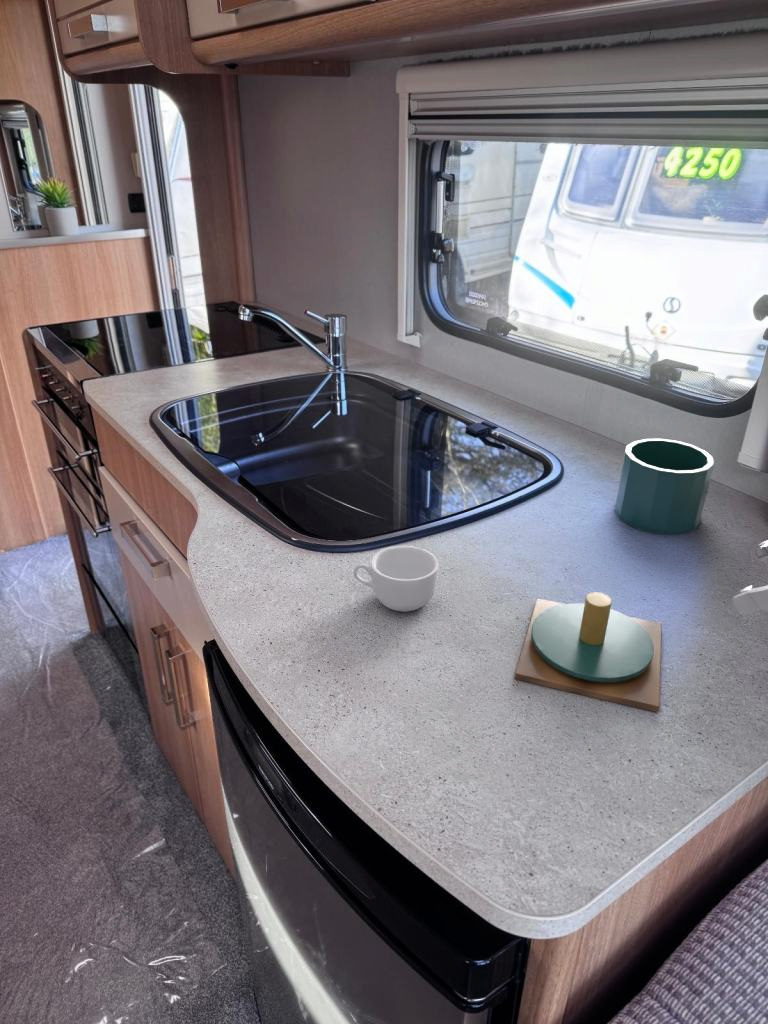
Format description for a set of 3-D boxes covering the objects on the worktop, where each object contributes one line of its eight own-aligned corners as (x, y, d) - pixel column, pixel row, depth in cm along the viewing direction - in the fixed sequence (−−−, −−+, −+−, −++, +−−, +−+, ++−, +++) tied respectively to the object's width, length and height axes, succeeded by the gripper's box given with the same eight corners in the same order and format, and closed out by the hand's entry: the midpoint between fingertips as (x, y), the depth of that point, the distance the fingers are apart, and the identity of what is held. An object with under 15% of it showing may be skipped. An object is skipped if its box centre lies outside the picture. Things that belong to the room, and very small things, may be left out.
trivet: (660, 628, 82) (661, 622, 81) (658, 712, 70) (659, 706, 70) (536, 603, 86) (536, 597, 85) (514, 679, 74) (515, 673, 74)
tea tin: (697, 503, 108) (712, 445, 104) (700, 540, 99) (715, 478, 94) (617, 491, 112) (627, 434, 107) (612, 526, 102) (623, 465, 97)
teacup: (440, 586, 89) (442, 549, 86) (431, 624, 82) (433, 585, 79) (361, 576, 90) (361, 539, 88) (346, 613, 84) (345, 574, 81)
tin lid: (653, 624, 81) (664, 578, 78) (650, 699, 70) (662, 649, 68) (540, 602, 85) (546, 557, 82) (521, 670, 74) (527, 621, 71)
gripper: (939, 615, 47) (744, 672, 57) (946, 496, 62) (790, 558, 72) (882, 537, 47) (697, 606, 57) (902, 437, 62) (752, 506, 72)
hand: (749, 578), depth 64 cm, fingers open, 8 cm apart
